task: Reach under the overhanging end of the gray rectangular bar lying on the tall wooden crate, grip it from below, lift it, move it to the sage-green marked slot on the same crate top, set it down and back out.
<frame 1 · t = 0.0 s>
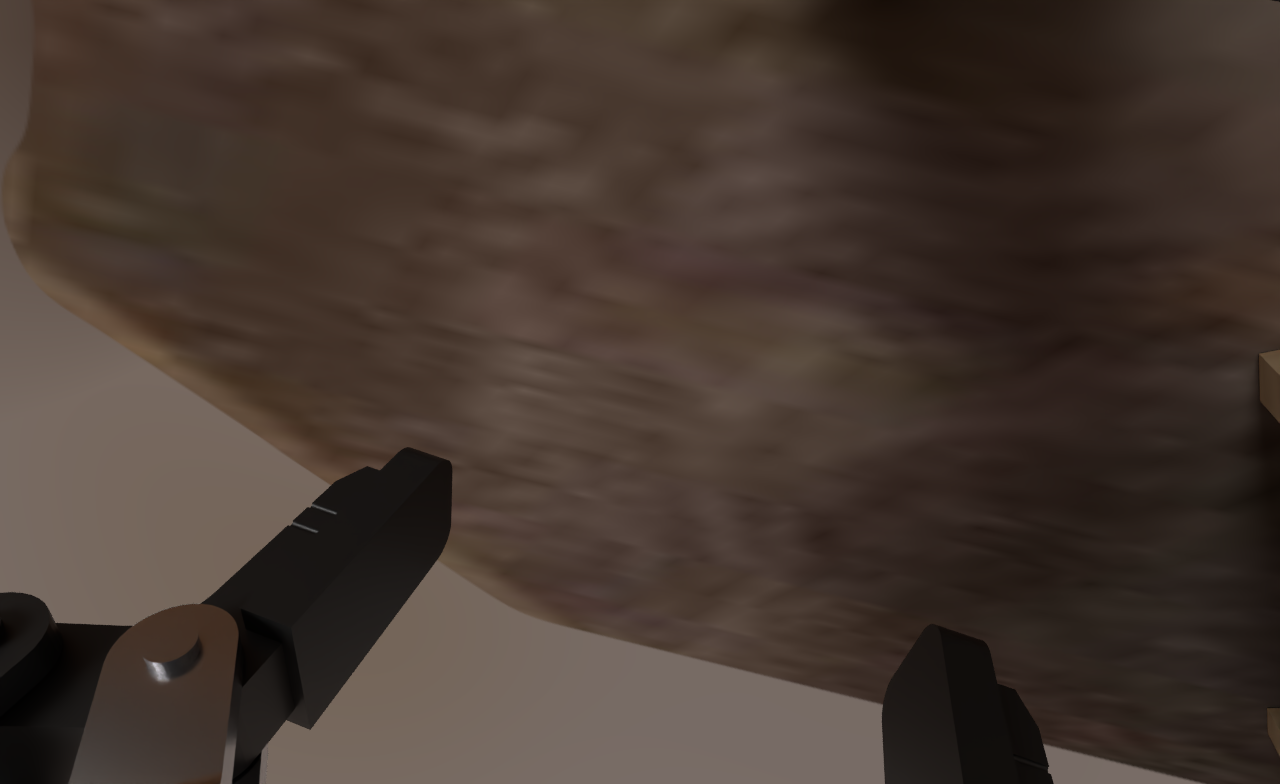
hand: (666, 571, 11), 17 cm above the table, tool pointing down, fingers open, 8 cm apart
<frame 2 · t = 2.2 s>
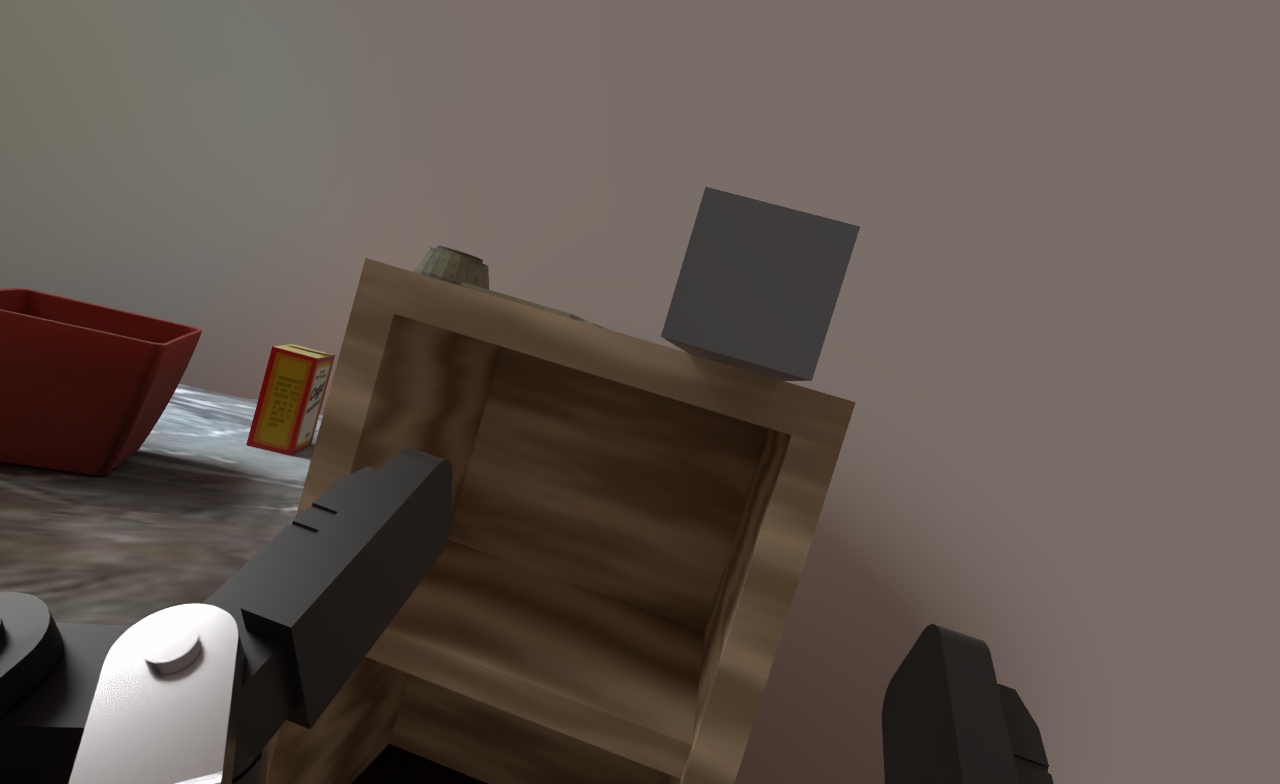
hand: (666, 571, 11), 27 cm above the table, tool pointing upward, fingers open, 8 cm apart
plant pot: (54, 455, 75), on the table
baking soda box: (280, 445, 103), on the table
thermos: (369, 576, 68), on the table
gray rectangular bar: (734, 368, 29), point 31 cm above the table, touching wooden crate
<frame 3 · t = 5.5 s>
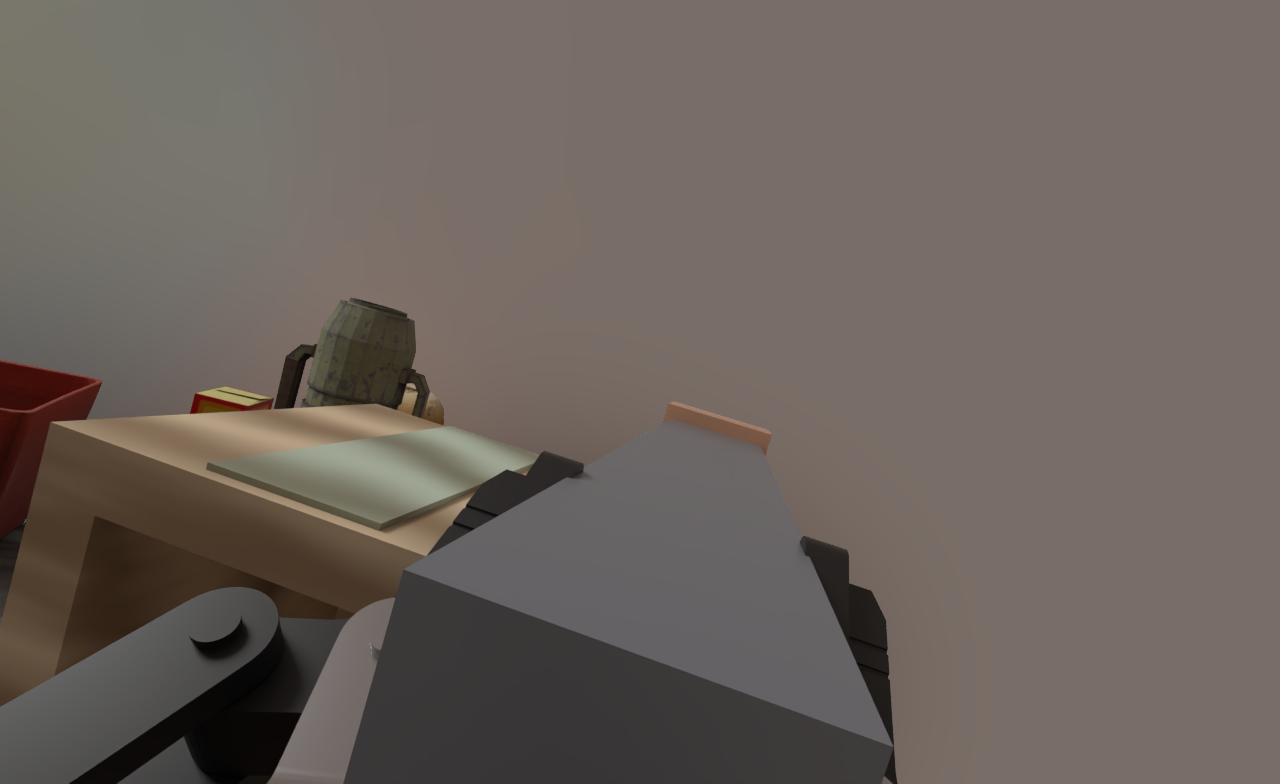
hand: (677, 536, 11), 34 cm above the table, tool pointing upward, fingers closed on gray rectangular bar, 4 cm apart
butternut squash: (355, 567, 85), on the table
baking soda box: (209, 501, 92), on the table
thermos: (272, 692, 56), on the table
gray rectangular bar: (664, 594, 18), point 31 cm above the table, touching gripper, wooden crate
when the fingers open (35 cm above the table, at t = 13.7 s): gray rectangular bar stays where it is, resting on wooden crate.
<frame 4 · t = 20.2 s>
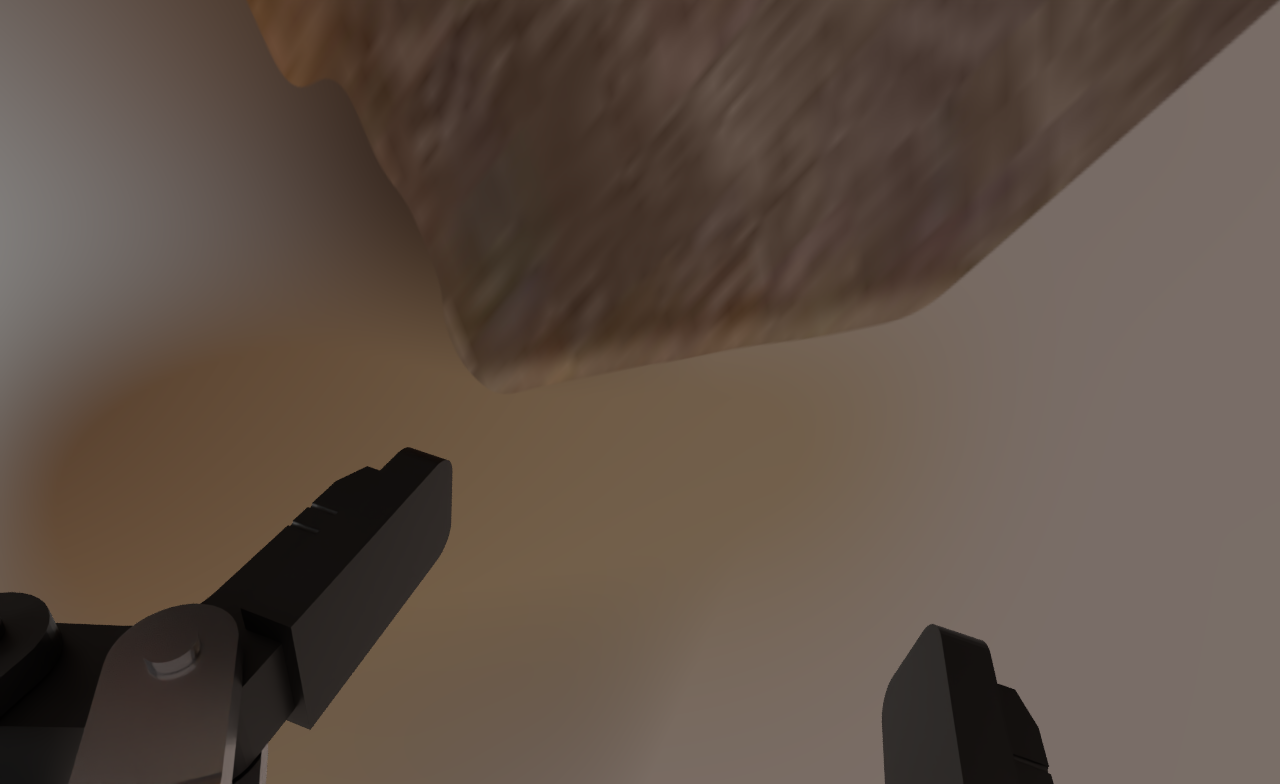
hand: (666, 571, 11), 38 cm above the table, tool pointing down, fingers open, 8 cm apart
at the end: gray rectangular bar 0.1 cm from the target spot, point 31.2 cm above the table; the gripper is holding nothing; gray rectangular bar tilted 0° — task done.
